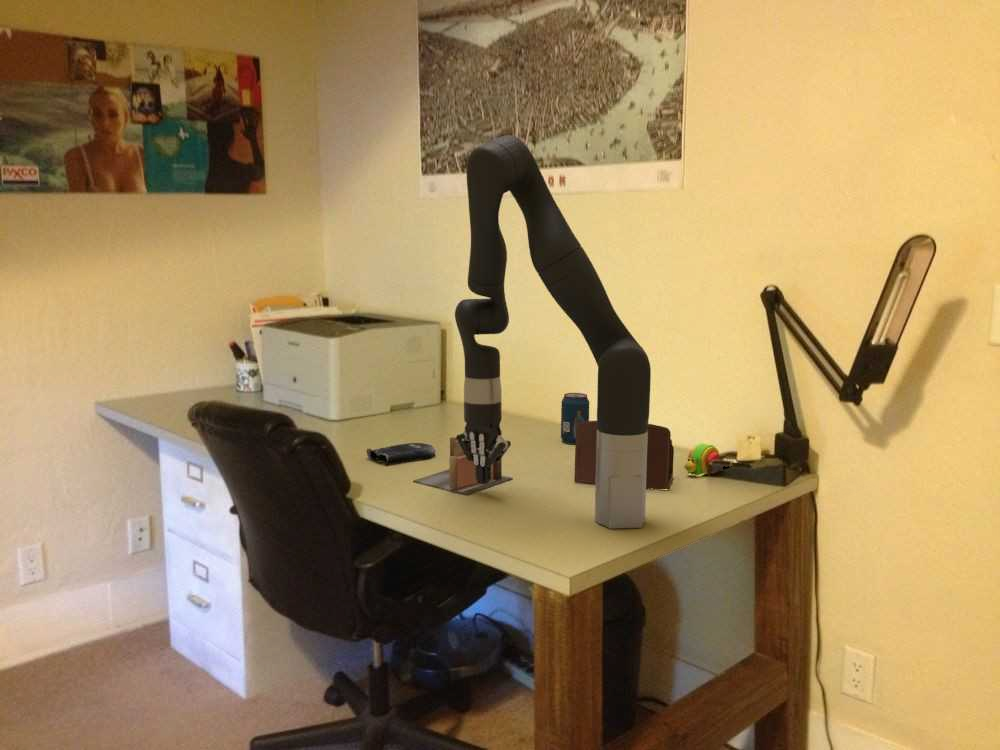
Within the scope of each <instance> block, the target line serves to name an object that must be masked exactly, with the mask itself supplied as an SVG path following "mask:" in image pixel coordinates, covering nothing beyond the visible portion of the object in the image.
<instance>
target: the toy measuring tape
mask: <svg viewBox="0 0 1000 750" xmlns="http://www.w3.org/2000/svg"><path fill="white" fill-rule="evenodd" d="M719 457H721V456H720V451H719V450H718V449H717V447H715V445H713V444H707V443H699V444H697V445H695V446H694V447H693V448H692V450H691V451H690V452H689V453H688V457H687V462H686V463H685V464H684V469H685V470H686V471H687V474H688V473H691V474H695V475H699V474H702V473H706V471H707V467H708V464H709V463H710V462H711V461H712V460H714V459H717V458H719Z"/></svg>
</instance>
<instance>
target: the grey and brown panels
mask: <svg viewBox="0 0 1000 750" xmlns="http://www.w3.org/2000/svg"><path fill="white" fill-rule="evenodd" d="M495 448H496V447H495ZM470 452H471V451H470ZM471 454H472V453H471ZM464 455H465V453H464V452H463V450H462V448H461V446H460V444H459V443H458V441H457V439H456V436H455V437H450V438H449V457H450V456H457V457H460V456H464ZM502 458H503V457H502ZM502 458H501V459H500V461H499V462H497V463H494V464H493V478H492V479H491V480H490V481H489V483H486V484H481V483H478V482H477V483H473V484H469V485H465V486H462V487H458V488H455V489H451V488H450V468H449V469H447V470H444V471H440V472H437V473H434V474H430V475H426V476H423V477H421V478H417V479H413V483H416V484H420V485H425V486H429V487H433V488H436V489H440V490H445V491H449V492H452V493H455V494H458V495H459V494H461V495H464V496H469V495H471V494H472V495H473V494H475V493H477V492H478V493H479V492H480V491H484V490H486V489H488V488H489V489H490V488H492V487H494V486H497V485H501V484H503V483H506V482H509V481H512V480H513V479H514V478H513V477H510V476H505V475H502V469H503V468H502Z"/></svg>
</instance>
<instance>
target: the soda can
mask: <svg viewBox="0 0 1000 750" xmlns="http://www.w3.org/2000/svg"><path fill="white" fill-rule="evenodd" d="M563 396H564V397H562V399H561V405H560V407H561V408H560V409H561V412H560V414H561V415H560V421H561V422H560V437H561V439H562V442H563V443H564V444H567V445H574V444H576V426H577V424H578V423H580V422H584V421H590V401H589V399H588V394H586V393H582V392H581V393H580V392H567V393H564V394H563Z"/></svg>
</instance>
